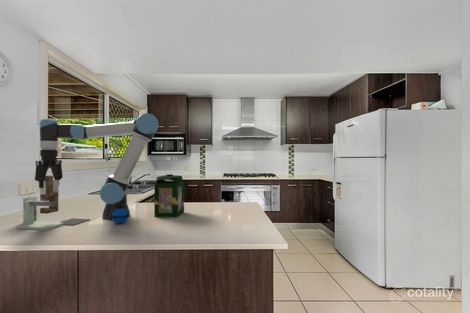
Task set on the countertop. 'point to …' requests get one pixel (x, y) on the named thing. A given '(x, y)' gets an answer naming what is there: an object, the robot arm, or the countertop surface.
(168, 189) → the container
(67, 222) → the mat
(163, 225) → the countertop surface
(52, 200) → the brown long angular piece
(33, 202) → the stand
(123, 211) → the ornament
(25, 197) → the syrup box
